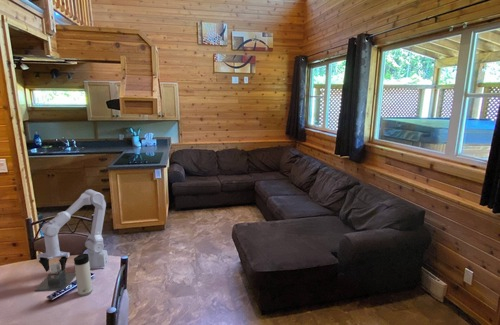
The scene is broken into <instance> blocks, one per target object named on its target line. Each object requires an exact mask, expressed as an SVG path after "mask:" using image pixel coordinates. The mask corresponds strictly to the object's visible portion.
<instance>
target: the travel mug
mask: <svg viewBox="0 0 500 325" xmlns="http://www.w3.org/2000/svg"><path fill="white" fill-rule="evenodd" d="M73 261H74V262H73V264H74V273H76V276H75V280H76V287H77V288H76V289H77V295H78V296H80V297H86V296H89V295H90V294H91V293H92V292H93V285H92V284H93V283H92V282H93V281H92V275H91V269H90V264H89V256H88V253H81V254H78V255H76V256H75V257H73Z"/></svg>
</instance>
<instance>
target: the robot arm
mask: <svg viewBox="0 0 500 325" xmlns="http://www.w3.org/2000/svg"><path fill="white" fill-rule="evenodd" d="M88 205H89V206H90V205H93V206H94V210H93V211H94V212H93V216H92V217H93V218H92V224H91V230H90V234H89V235H87V239H86V240H85V242H84V246H85V248H86V249H87V254H88V256H89V264H90V270H91V269H105V267H106V266H107V264H108V263H109V255H108V250H106V249H104V247H105V246H104V238H103V235H102V232H103V226H104V221H105V220H104V219H105V215H106V207H107V202H106V199H105V195H104V194H102V193H101V192H98V191H95V190H93V189H86V190H85V191H84V192H82V193H81V194H80V196H79V197H78V199H76V200H75V202H73V203H72V204H71V205H70V206H69V207H68V208H67V209H66V210H65V211H60V212H58V213H56V216H54V217H53V218H52V219H51V220H49V221H48V222H47V223H46V222H45V223H44V224H42V227H41V228H40V232H42V234H43V237H44V238H43V240H44V245H45V252H42V253H38V254H37V259H38V263H40V265H41V266H42V267H43V268H44V270H45V272H49V271H50V270H51V268H50V260H52V259H56V258H59V259H58V262H59V263H60V269H61V270H62V271H64V270H65V271H66V265H67V261H68V258H69V257H70V252H69V251H68V252H67V251H61V250H60V249H61V248H60V242H59V236H58V234H59V232H60V229H61V228H62V227H63V226H64V225H66V223H67V222H69V221H70V220H71V218H72V217H71V216H72V215H74V214H75V213H76V212H77V211H79V210H80V209H81V208H83V206H88Z"/></svg>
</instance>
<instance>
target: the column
mask: <svg viewBox="0 0 500 325" xmlns="http://www.w3.org/2000/svg"><path fill="white" fill-rule="evenodd" d="M49 267H50V272H51V275H58V274H59V273H60V272H61V271H60V269H61V264H60V262H59V261H58V262H56V261H55V262H52V263H51V264H49Z"/></svg>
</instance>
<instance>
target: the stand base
mask: <svg viewBox="0 0 500 325" xmlns="http://www.w3.org/2000/svg"><path fill="white" fill-rule="evenodd" d="M60 271H61V272H60V273H59V274H58V275H51V271H50V272H49V273H48V274H47V276H46V278H44V280H42V282H40V283H39V285H38V286H37V287H36V288H35V289H34V292H46V291H47V292H48V291H63V290H62V289H65V288H66V287H67V286H70V284H71V283H72V281H73V280H74V279H76V273H75V272H66V269H65V270H64V271H62V270H61V268H60ZM67 288H68V287H67ZM67 288H66V289H67ZM66 289H65V290H66Z"/></svg>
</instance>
